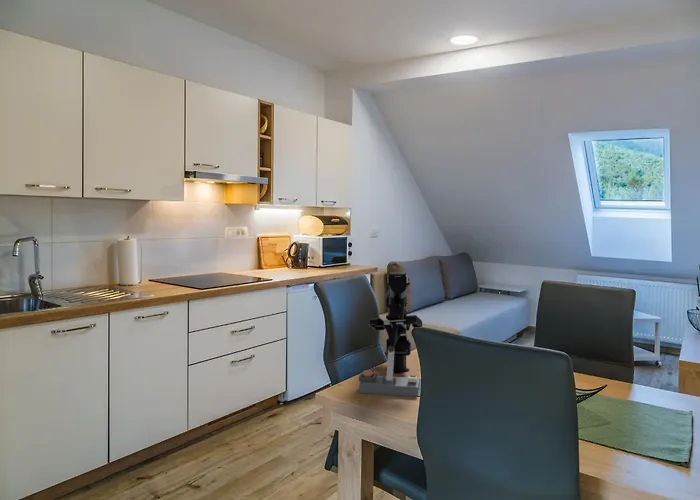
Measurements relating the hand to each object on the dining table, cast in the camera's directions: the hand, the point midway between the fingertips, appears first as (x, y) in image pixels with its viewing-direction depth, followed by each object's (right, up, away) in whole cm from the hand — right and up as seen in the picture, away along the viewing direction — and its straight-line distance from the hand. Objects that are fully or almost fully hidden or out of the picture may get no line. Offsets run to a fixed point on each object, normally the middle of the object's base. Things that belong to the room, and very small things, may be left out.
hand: (392, 346), depth 178 cm
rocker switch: (+6, -10, -9) cm, 15 cm away
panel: (-2, -13, -7) cm, 15 cm away
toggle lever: (-2, -10, -9) cm, 14 cm away
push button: (-9, -9, -6) cm, 14 cm away
